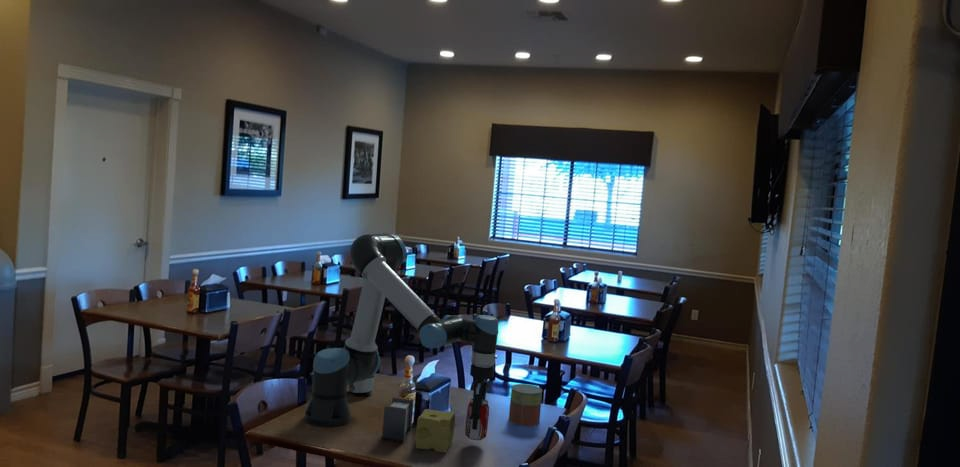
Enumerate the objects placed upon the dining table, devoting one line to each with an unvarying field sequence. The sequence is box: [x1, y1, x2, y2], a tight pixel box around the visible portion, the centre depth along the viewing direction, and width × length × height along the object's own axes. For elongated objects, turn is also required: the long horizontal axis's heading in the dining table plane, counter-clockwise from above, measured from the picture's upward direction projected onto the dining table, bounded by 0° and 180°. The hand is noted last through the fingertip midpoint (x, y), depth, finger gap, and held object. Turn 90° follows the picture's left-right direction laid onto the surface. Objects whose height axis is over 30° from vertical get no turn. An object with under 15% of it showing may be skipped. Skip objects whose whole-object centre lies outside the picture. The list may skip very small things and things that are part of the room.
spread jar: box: [347, 374, 375, 397], centre depth 264 cm, size 12×11×12 cm
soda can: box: [464, 398, 490, 441], centre depth 221 cm, size 7×7×12 cm
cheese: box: [415, 408, 456, 454], centre depth 219 cm, size 10×11×10 cm
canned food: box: [508, 383, 544, 428], centre depth 249 cm, size 11×11×12 cm
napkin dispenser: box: [381, 396, 414, 444], centre depth 224 cm, size 10×7×11 cm
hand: (475, 434), depth 222 cm, fingers closed on soda can, 7 cm apart
